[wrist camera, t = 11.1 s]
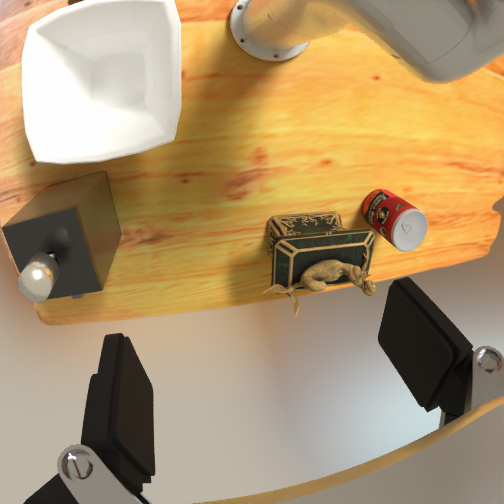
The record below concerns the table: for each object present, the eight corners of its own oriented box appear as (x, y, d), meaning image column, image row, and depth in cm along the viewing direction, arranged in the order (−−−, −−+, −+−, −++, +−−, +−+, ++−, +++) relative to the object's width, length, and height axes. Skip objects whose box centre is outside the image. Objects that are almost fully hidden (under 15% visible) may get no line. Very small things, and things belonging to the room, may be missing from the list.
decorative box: (348, 205, 55) (412, 259, 38) (342, 252, 60) (395, 315, 43) (239, 213, 52) (268, 279, 35) (240, 263, 56) (266, 341, 40)
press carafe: (47, 186, 42) (1, 227, 28) (106, 171, 44) (74, 208, 30) (70, 258, 49) (40, 315, 35) (125, 247, 50) (108, 306, 37)
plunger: (50, 193, 42) (-13, 257, 24) (99, 181, 43) (50, 242, 25) (66, 243, 46) (20, 323, 28) (113, 233, 47) (81, 316, 30)
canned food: (371, 182, 54) (406, 203, 44) (400, 195, 56) (435, 218, 47) (354, 218, 57) (385, 246, 47) (383, 229, 59) (415, 256, 50)
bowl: (182, 13, 34) (182, -17, 22) (184, 135, 44) (184, 152, 32) (62, 33, 31) (21, 18, 19) (68, 151, 41) (30, 175, 29)
